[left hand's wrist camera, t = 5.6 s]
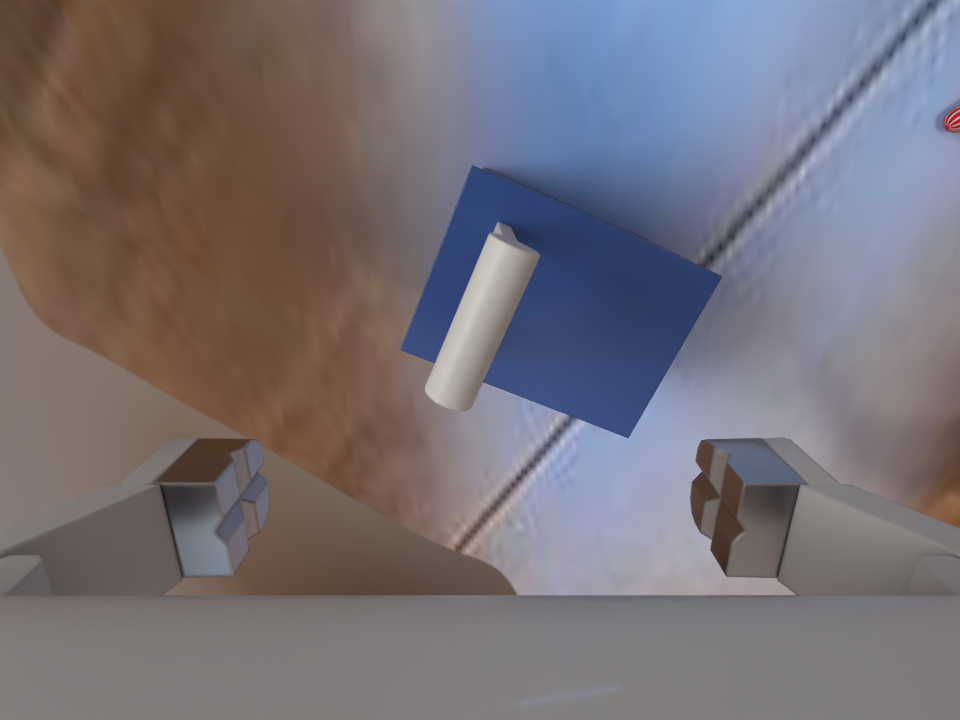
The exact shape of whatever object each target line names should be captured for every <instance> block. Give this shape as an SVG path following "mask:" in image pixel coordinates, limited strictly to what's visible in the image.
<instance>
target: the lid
mask: <svg viewBox="0 0 960 720" xmlns="http://www.w3.org/2000/svg"><path fill="white" fill-rule="evenodd" d="M721 277H722V276H720V275H718V274H716V273H714V272H712V271H710V270H707V269H705V268H703V267H701V266H698V265H696V264H694V263H692V262H689V261H687V260H685V259H683V258H680V257H678V256H676V255H674V254H671V253H669V252H667V251H665V250H662V249H660V248H658V247H656V246H653V245H651V244H649V243H647V242H644V241H642V240H640V239H638V238H635V237H633V236H631V235H629V234H626V233H624V232H622V231H620V230H617V229H615V228H613V227H611V226H608V225H606V224H604V223H602V222H599V221H597V220H595V219H593V218H590V217H588V216H586V215H584V214H581V213H579V212H577V211H574V210H572V209H570V208H568V207H565V206H563V205H561V204H559V203H556V202H554V201H552V200H550V199H547V198H545V197H543V196H541V195H538V194H536V193H534V192H532V191H529V190H527V189H525V188H523V187H520V186H518V185H516V184H514V183H511V182H509V181H507V180H505V179H502V178H500V177H498V176H496V175H493V174H491V173H489V172H487V171H484V170H482V169H480V168H478V167H475V166H471V169H470V171H469V174H468V177H467V179H466V182H465V184H464V187H463V189H462V192H461V195H460V197H459V200H458V202H457V205H456V207H455V210H454V213H453V215H452V218H451V220H450V223H449V225H448V228H447V231H446V233H445V236H444V238H443V241H442V243H441V246H440V248H439V251H438V254H437V256H436V259H435V261H434V264H433V266H432V269H431V272H430V274H429V277H428V279H427V282H426V284H425V287H424V290H423V292H422V295H421V297H420V300H419V302H418V305H417V308H416V310H415V313H414V315H413V318H412V320H411V323H410V326H409V328H408V331H407V333H406V336H405V338H404V341H403V344H402V346H401V349H400V350H402V351H405V352H407V353H410V354H412V355H415V356H417V357H420V358H423V359H425V360H428V361H430V362H433V363H435V364H434V367H433V369H432V372H431V374H430V376H429V379H428V381H427V384H426V386H425V392H426V394H427V395H428V396H429V397H430V398H431V399H432V400H433V401H435V402H436V403H438V404H440V405H441V406H444V407H446V408H449V409H452V410H456V411H467V410H469V409H470V408H471V407H472V405H473V403H474V401H475V399H476V396H477V394H478V392H479V390H480V388H481V386H482V383H483V382H485V383H487V384H490V385H492V386H495V387H497V388H500V389H503V390H505V391H508V392H510V393H513V394H515V395H518V396H521V397H523V398H526V399H528V400H531V401H534V402H536V403H539V404H541V405H544V406H546V407H549V408H552V409H554V410H557V411H559V412H562V413H565V414H567V415H570V416H572V417H575V418H577V419H580V420H583V421H585V422H588V423H590V424H593V425H595V426H598V427H601V428H603V429H606V430H608V431H611V432H614V433H616V434H619V435H621V436H624V437H626V438H629V436H630V434H631V433H632V431H633V429H634V427H635V426H636V424H637V422H638V421H639V419H640V417H641V415H642V414H643V412H644V410H645V408H646V407H647V405H648V403H649V402H650V400H651V398H652V396H653V395H654V393H655V391H656V389H657V388H658V386H659V384H660V383H661V381H662V379H663V377H664V376H665V374H666V372H667V370H668V369H669V367H670V365H671V364H672V362H673V360H674V358H675V357H676V355H677V353H678V351H679V350H680V348H681V346H682V345H683V343H684V341H685V339H686V338H687V336H688V334H689V332H690V331H691V329H692V327H693V326H694V324H695V322H696V320H697V319H698V317H699V315H700V313H701V312H702V310H703V308H704V307H705V305H706V303H707V301H708V300H709V298H710V296H711V294H712V293H713V291H714V289H715V288H716V286H717V284H718V282H719V281H720V279H721Z"/></svg>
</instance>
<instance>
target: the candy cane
mask: <svg viewBox="0 0 960 720" xmlns="http://www.w3.org/2000/svg"><path fill="white" fill-rule="evenodd" d="M943 127H944V128H945V129H946V130H947V131H949V132H959V131H960V105H959V106H958V107H956V108H955V109H953V110H952V111H951V112H949V113H948V114H947V115H946V116H945V118H944V120H943Z"/></svg>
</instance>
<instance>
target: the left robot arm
mask: <svg viewBox="0 0 960 720" xmlns="http://www.w3.org/2000/svg"><path fill="white" fill-rule="evenodd" d="M263 463H264V456H263V451H262V446H261V444H260V443H259V442H258V441H257V439H215V438H204V439H202V438H176V439H170V440H168V441H167V442H166V443H165V444H164V445H163V446H162V447H161V448H159V449H158V450H157V451H156V452H155V453H154V454H153V455H152V456H151V457H149V458H148V459H147V460H146V461H145V462H144V463H143V464H142V465H141V466H139V467H138V468H137V469H136V470H135V471H134V472H133V473H131V474H130V475H129V476H128V477H127V478H126V479H125V480H124V481H123V482H121V483H120V484H114V485H113V484H112V485H108V486H105V487H103V488H100V489H97V490H95V491H92V492H90V493H87V494H85V495H82V496H80V497H77V498H75V499H72V500H70V501H67V502H65V503H62V504H60V505H57V506H55V507H52V508H49V509H47V510H45V511H42V512H39V513H37V514H34V515H32V516H29V517H27V518H24V519H22V520H19V521H17V522H14V523H12V524H9V525H7V526H4V527H2V528H0V720H960V528H958V527H956V526H953V525H951V524H948V523H946V522H943V521H941V520H938V519H936V518H933V517H930V516H928V515H925V514H923V513H920V512H918V511H915V510H913V509H910V508H908V507H905V506H903V505H900V504H898V503H895V502H893V501H890V500H888V499H885V498H883V497H880V496H878V495H875V494H873V493H870V492H868V491H865V490H863V489H860V488H858V487H855V486H852V485H848V484H840V483H839V482H838V481H836V480H835V479H834V478H833V477H832V476H831V475H830V474H829V473H828V472H826V471H825V470H824V469H823V468H822V467H821V466H820V465H819V464H817V463H816V462H815V461H814V460H813V459H812V458H811V457H810V456H809V455H807V454H806V453H805V452H804V451H803V450H802V449H801V448H800V447H798V446H797V445H796V444H795V443H794V442H793V441H792V440H790V439H787V438H762V439H761V438H744V439H707V440H702V441H701V442H700V445H699V447H698V449H697V455H696V463H697V464H698V466H699V467H700V469H701V470H702V472H701V473H700V474H699V475H698V476H697V477H696V478H695V479H694V481H693V482H692V487H691V495H690V501H691V511H692V515H693V518H694V522H695V524H696V526H697V528H698V529H699V531H700V533H702V534H703V535H705V536H707V537H708V538H710V539H711V540H712V543H711V549H710V550H711V552H712V553H713V555H714V557H715V558H716V560H717V562H718V563H719V565H720V567H721V568H722V570H723V572H724V573H725V575H726V577H757V578H778V579H777V580H778V581H779V582H780V583H782V584H783V585H784V586H786V587H787V588H788V589H790V590H791V591H793V592H794V593H795V594H797V595H164V594H165V593H166V592H168V591H169V590H170V589H172V588H173V587H174V586H176V585H177V584H178V583H180V582H181V581H182V578H202V577H233V576H234V575H235V573H236V572H237V570H238V568H239V567H240V565H241V563H242V562H243V560H244V558H245V557H246V555H247V553H248V552H249V550H250V549H249V543H248V540H249V539H250V538H252V537H253V536H255V535H257V534H258V533H260V531H261V529H262V527H263V526H264V524H265V522H266V518H267V514H268V510H269V498H270V493H269V486H268V482H267V481H266V480H265V479H264V477H263V476H262V475H261V474H260V473H259V472H258V470H259V469H260V467H261V466H262V464H263Z"/></svg>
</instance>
